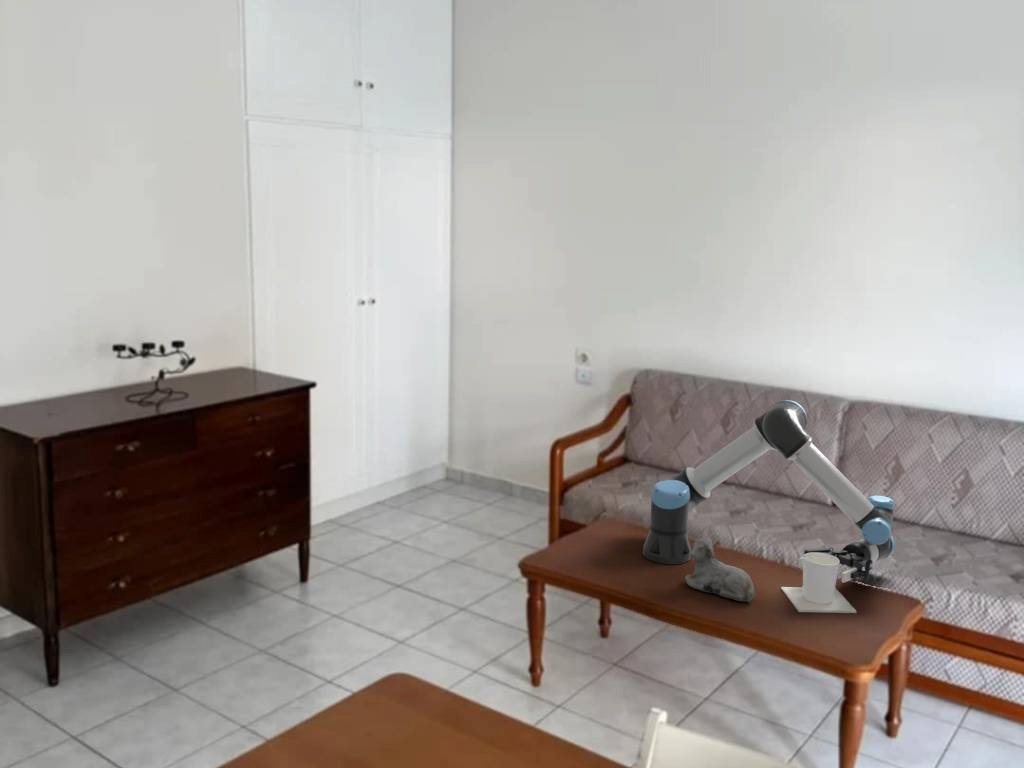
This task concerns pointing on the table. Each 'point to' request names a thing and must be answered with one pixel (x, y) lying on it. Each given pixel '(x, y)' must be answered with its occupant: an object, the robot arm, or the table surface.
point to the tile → (803, 605)
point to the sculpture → (718, 574)
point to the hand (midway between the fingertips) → (820, 570)
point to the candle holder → (819, 577)
